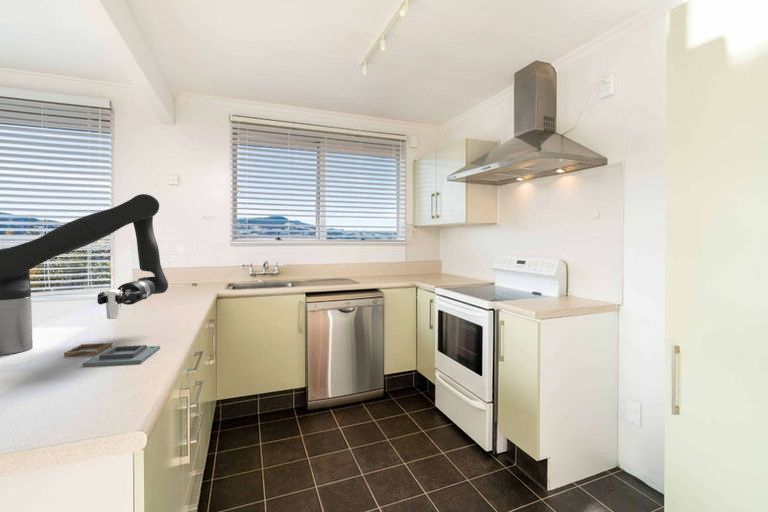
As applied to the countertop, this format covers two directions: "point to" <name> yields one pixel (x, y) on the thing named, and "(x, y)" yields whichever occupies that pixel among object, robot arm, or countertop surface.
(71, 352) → the square wooden frame
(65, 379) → the countertop surface
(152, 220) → the robot arm
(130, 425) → the countertop surface
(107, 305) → the milkshake
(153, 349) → the port plate
